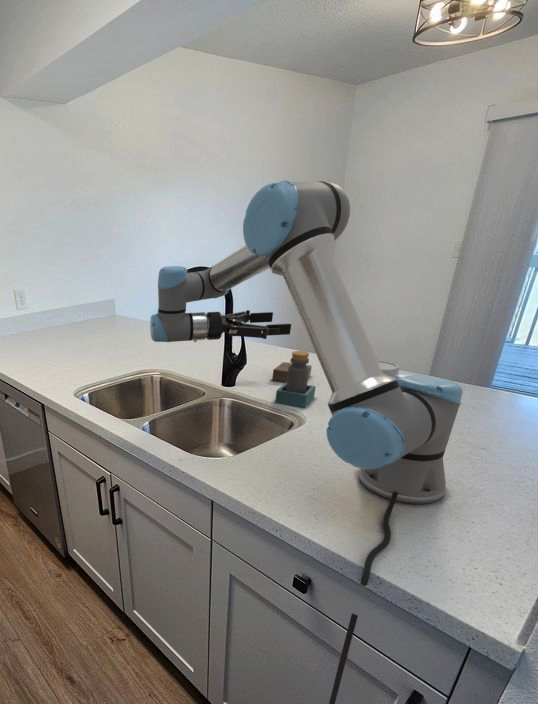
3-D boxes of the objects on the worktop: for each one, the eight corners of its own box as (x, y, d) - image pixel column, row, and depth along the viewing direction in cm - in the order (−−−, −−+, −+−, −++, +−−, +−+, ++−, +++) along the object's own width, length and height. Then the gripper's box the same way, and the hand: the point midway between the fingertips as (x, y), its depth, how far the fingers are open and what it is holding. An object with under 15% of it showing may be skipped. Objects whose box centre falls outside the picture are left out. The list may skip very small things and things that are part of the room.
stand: (301, 385, 146) (302, 373, 144) (272, 380, 151) (273, 369, 149) (310, 376, 153) (311, 365, 151) (282, 372, 158) (283, 361, 156)
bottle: (307, 403, 132) (314, 355, 125) (287, 404, 132) (293, 356, 125) (301, 396, 137) (307, 349, 130) (282, 397, 137) (287, 350, 130)
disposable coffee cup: (395, 411, 123) (405, 370, 118) (359, 410, 125) (367, 370, 120) (385, 398, 131) (394, 360, 126) (351, 398, 133) (358, 360, 128)
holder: (304, 408, 129) (306, 395, 127) (275, 402, 134) (276, 390, 132) (313, 398, 135) (315, 386, 133) (285, 393, 140) (286, 381, 138)
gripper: (196, 328, 133) (264, 324, 134) (215, 353, 112) (296, 349, 113) (197, 303, 130) (267, 300, 131) (217, 323, 108) (301, 320, 109)
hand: (280, 322), depth 122 cm, fingers open, 13 cm apart
